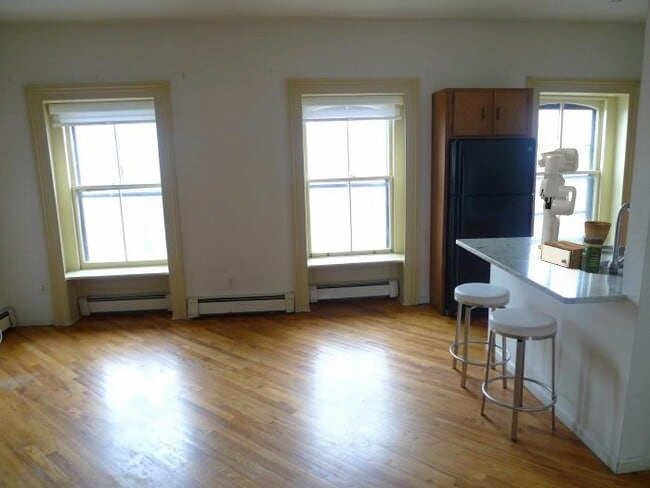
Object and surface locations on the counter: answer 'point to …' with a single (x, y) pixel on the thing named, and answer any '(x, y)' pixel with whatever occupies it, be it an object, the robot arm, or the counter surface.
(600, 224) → the plant pot
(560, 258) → the door
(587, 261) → the coffee jar
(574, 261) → the cabinet
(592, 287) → the counter surface
